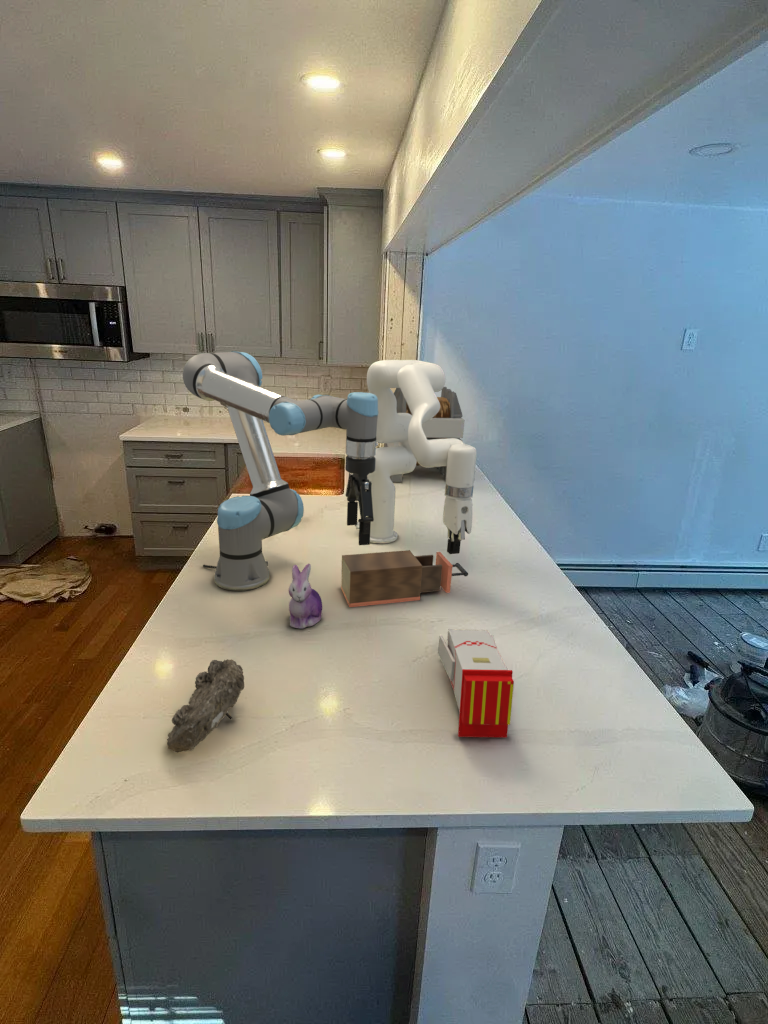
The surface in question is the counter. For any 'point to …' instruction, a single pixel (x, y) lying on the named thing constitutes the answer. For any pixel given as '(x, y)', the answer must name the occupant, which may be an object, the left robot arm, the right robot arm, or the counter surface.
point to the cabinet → (380, 578)
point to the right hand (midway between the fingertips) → (453, 552)
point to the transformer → (435, 422)
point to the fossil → (206, 705)
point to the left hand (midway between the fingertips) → (357, 534)
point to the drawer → (437, 573)
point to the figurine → (303, 600)
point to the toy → (478, 682)
